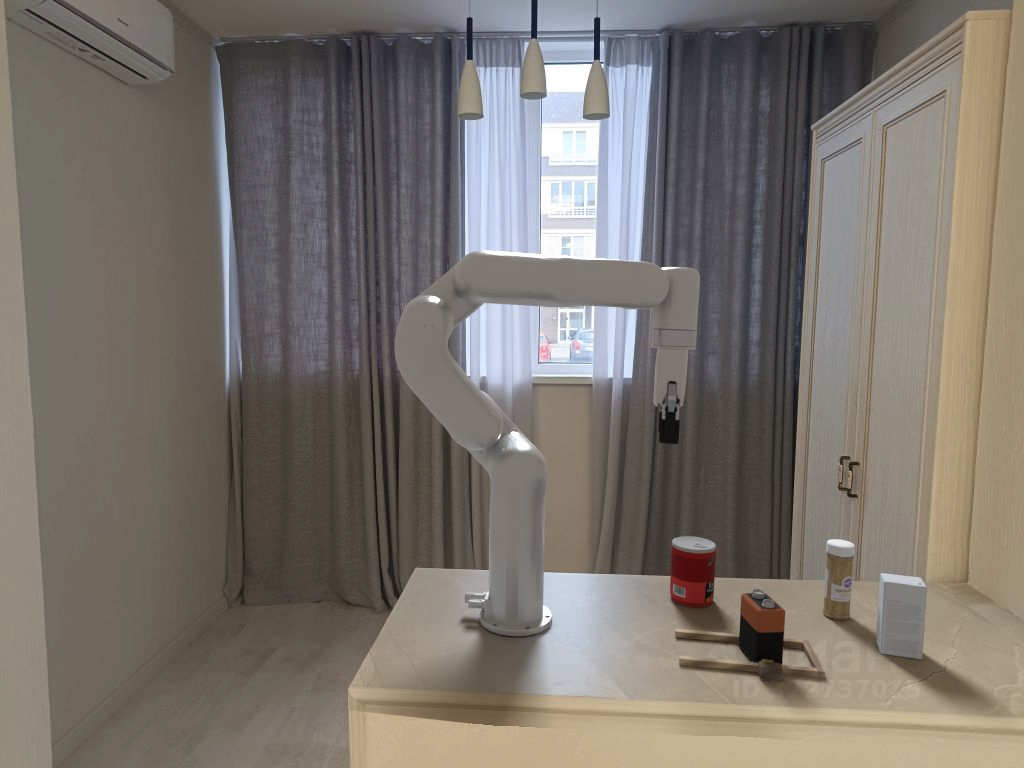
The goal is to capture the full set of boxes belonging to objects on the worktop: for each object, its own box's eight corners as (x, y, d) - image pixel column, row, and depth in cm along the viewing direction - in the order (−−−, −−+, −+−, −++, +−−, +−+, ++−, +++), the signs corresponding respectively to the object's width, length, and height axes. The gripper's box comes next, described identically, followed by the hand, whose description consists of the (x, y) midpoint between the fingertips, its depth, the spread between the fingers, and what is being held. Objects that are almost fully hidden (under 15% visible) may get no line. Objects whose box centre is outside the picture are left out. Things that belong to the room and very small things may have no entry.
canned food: (715, 610, 125) (717, 551, 123) (670, 605, 126) (672, 547, 125) (711, 593, 132) (714, 537, 131) (669, 589, 134) (671, 534, 132)
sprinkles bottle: (841, 623, 120) (846, 548, 118) (816, 613, 123) (821, 541, 122) (855, 616, 122) (860, 543, 121) (830, 607, 126) (835, 536, 125)
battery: (763, 645, 112) (766, 586, 110) (783, 667, 105) (787, 604, 104) (737, 646, 111) (740, 587, 110) (756, 668, 104) (759, 605, 103)
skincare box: (916, 648, 111) (922, 577, 110) (922, 660, 107) (928, 587, 106) (874, 641, 113) (879, 571, 112) (879, 654, 109) (884, 581, 108)
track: (680, 671, 103) (680, 659, 103) (674, 634, 115) (675, 622, 115) (828, 686, 100) (829, 673, 99) (807, 645, 112) (808, 634, 111)
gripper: (651, 337, 127) (646, 428, 129) (651, 341, 110) (645, 445, 112) (692, 339, 126) (687, 431, 128) (699, 343, 109) (693, 449, 111)
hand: (667, 438), depth 120 cm, fingers open, 9 cm apart
